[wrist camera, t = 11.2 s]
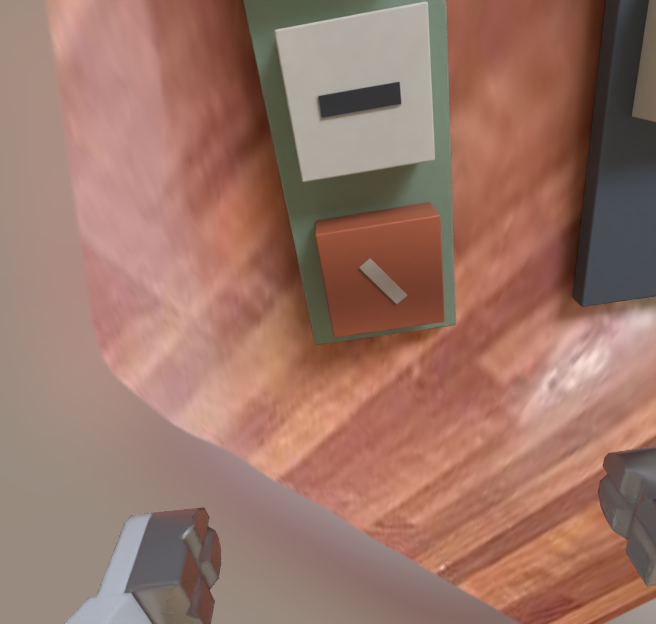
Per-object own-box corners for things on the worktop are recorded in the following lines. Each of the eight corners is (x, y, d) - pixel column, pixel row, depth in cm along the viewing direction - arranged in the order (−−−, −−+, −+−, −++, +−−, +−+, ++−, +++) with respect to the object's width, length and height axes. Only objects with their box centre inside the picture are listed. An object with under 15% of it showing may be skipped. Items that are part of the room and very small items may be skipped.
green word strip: (183, -302, 14) (152, -381, 11) (427, -360, 13) (453, -456, 11) (315, 334, 24) (314, 368, 22) (451, 315, 24) (466, 347, 21)
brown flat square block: (314, 219, 20) (314, 235, 19) (431, 201, 20) (441, 215, 18) (332, 318, 23) (333, 340, 21) (436, 303, 22) (445, 323, 21)
